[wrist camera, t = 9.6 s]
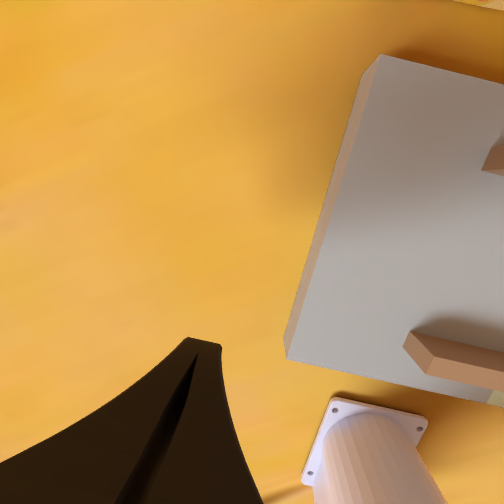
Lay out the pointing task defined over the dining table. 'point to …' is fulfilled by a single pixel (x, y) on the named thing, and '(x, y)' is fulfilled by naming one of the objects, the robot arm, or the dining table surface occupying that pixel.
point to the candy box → (485, 3)
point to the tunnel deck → (411, 238)
